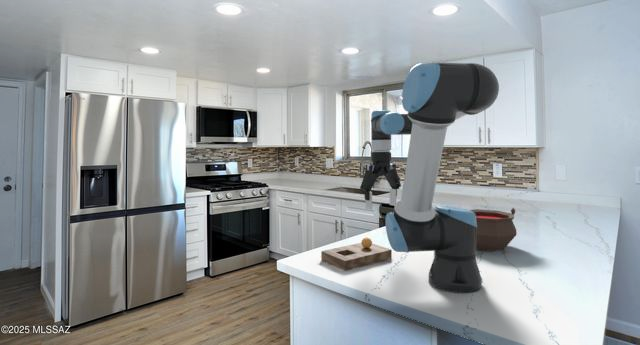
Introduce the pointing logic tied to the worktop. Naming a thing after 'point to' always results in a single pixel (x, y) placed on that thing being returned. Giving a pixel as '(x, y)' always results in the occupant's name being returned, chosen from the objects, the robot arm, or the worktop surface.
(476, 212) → the brown pot
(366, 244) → the ball
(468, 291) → the robot arm
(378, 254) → the wooden block with hole
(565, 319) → the worktop surface
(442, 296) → the worktop surface
